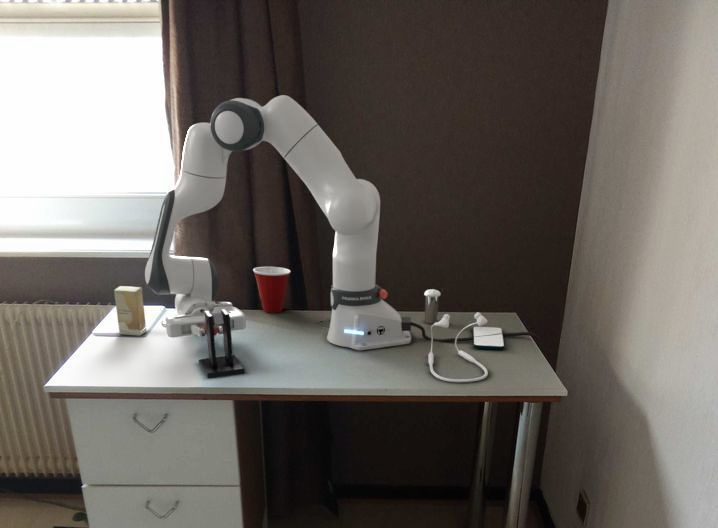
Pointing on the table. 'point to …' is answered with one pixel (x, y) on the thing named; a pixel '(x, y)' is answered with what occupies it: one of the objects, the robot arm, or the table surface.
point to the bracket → (229, 361)
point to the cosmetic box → (130, 310)
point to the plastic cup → (272, 287)
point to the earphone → (445, 323)
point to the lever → (216, 322)
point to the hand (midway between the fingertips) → (212, 332)
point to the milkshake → (431, 305)
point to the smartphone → (488, 338)
